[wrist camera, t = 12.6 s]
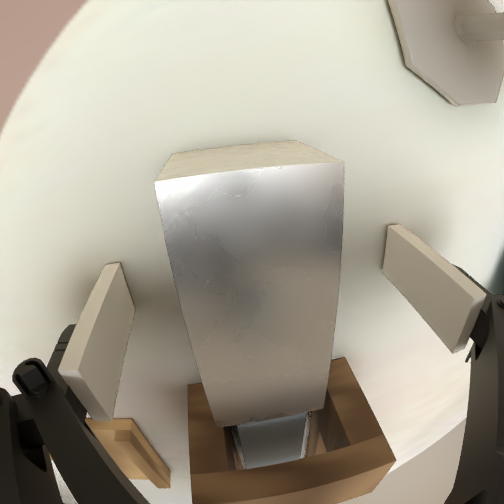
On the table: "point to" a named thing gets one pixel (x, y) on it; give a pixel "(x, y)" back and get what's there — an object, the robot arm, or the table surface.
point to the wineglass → (453, 46)
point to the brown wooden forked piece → (298, 471)
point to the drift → (272, 440)
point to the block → (256, 272)
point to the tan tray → (130, 450)
